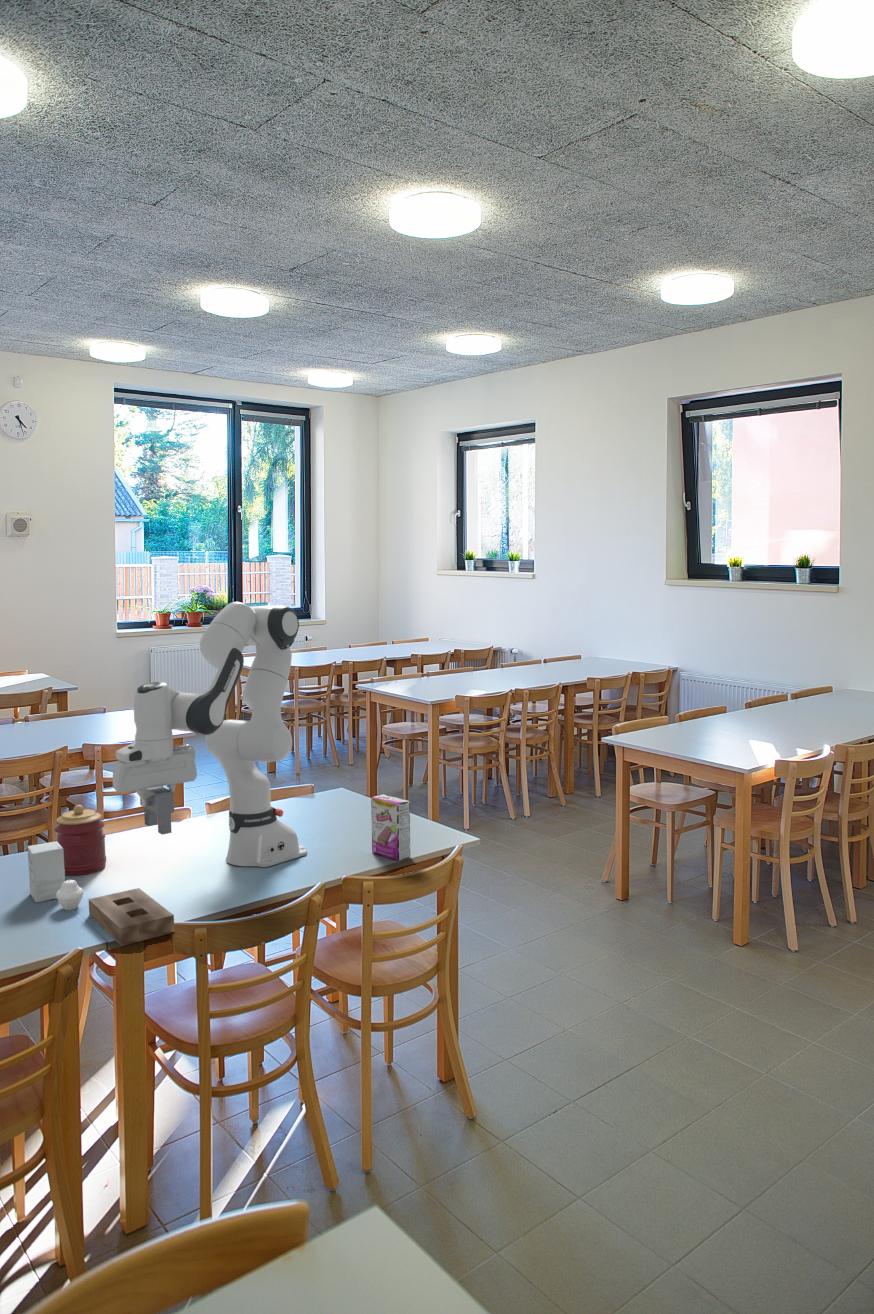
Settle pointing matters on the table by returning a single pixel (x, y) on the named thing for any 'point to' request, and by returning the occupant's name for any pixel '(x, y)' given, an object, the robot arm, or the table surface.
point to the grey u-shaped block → (159, 808)
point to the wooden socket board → (131, 916)
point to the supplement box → (45, 870)
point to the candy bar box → (390, 827)
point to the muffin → (69, 895)
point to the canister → (81, 841)
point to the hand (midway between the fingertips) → (156, 804)
